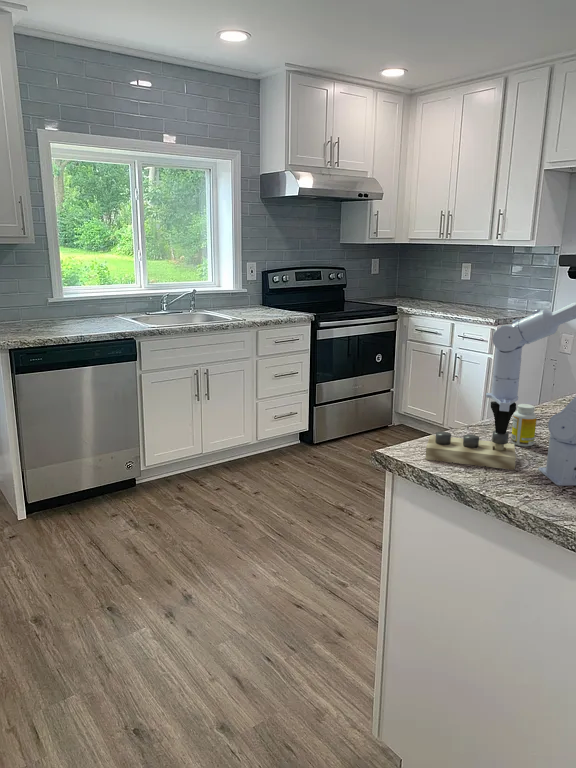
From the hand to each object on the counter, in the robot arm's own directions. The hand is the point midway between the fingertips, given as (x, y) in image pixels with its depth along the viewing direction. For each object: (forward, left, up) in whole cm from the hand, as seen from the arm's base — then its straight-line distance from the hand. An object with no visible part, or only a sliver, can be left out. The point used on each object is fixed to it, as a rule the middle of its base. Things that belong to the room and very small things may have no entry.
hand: (500, 432), depth 136 cm
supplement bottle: (+12, -11, -7) cm, 18 cm away
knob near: (0, 0, -5) cm, 5 cm away
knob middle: (+2, +6, -7) cm, 9 cm away
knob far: (+4, +12, -7) cm, 15 cm away
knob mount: (+2, +6, -7) cm, 9 cm away
